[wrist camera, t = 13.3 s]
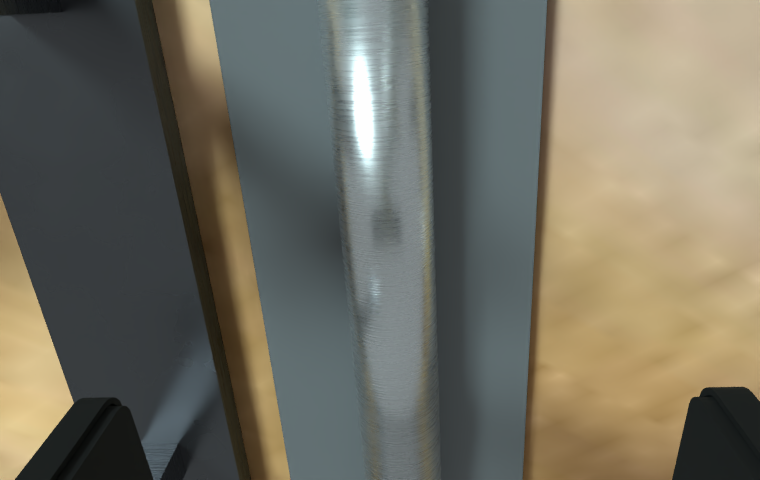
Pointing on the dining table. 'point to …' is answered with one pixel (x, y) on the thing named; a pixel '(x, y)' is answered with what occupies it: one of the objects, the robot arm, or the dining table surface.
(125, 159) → the hook stands
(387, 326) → the steel rail
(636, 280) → the dining table surface
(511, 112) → the rubber mat
